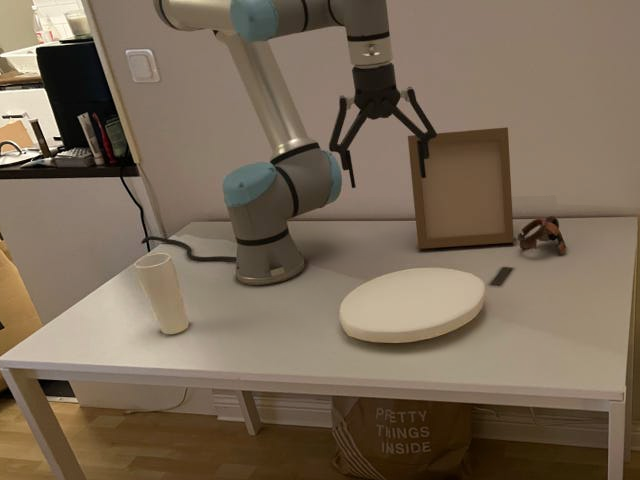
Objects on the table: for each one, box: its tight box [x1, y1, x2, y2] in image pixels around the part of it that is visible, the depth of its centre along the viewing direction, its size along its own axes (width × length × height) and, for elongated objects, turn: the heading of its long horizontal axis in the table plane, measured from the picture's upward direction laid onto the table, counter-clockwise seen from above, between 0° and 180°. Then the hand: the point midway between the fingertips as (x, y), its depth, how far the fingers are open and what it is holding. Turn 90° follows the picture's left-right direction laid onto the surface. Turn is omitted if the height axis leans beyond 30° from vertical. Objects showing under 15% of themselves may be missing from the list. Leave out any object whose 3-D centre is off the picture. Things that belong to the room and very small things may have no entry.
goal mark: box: [490, 266, 513, 286], centre depth 149 cm, size 2×8×1 cm, turn 158°
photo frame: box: [407, 126, 515, 250], centre depth 163 cm, size 15×22×25 cm
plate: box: [338, 267, 487, 344], centre depth 136 cm, size 28×6×27 cm
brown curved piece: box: [517, 215, 567, 256], centre depth 158 cm, size 12×10×8 cm
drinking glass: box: [134, 252, 189, 335], centre depth 139 cm, size 7×7×15 cm
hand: (388, 181), depth 138 cm, fingers open, 13 cm apart
